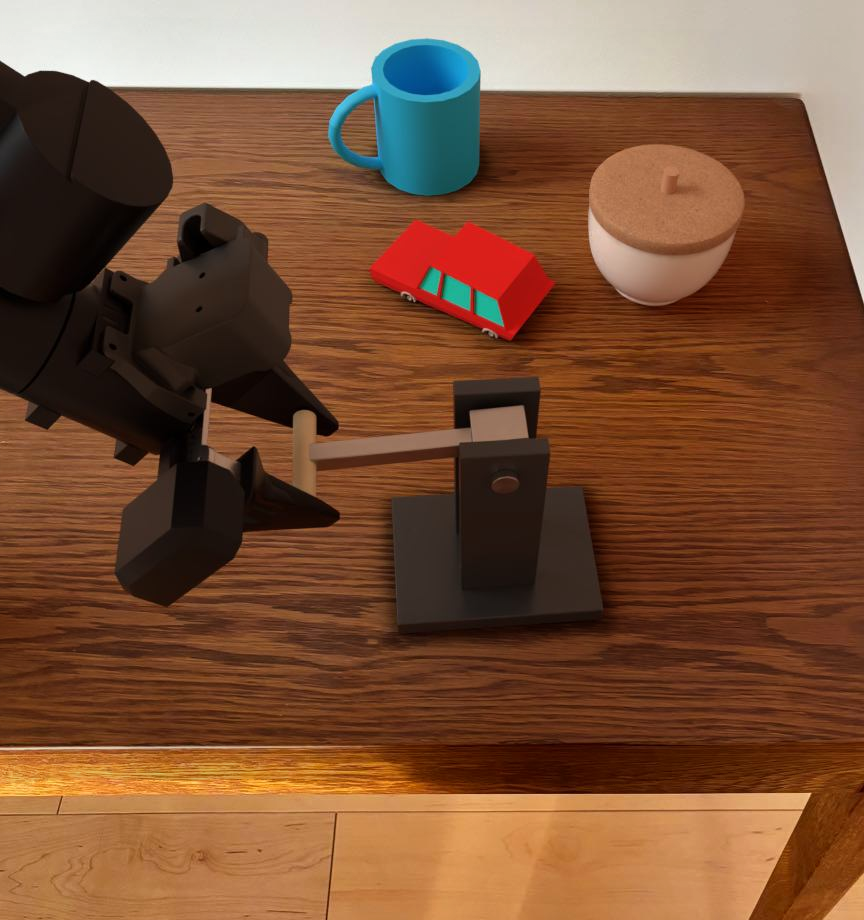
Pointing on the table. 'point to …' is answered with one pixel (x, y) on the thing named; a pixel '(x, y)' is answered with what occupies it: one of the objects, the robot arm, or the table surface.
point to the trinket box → (662, 221)
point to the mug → (420, 117)
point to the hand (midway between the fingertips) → (334, 474)
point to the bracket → (495, 532)
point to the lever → (395, 444)
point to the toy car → (465, 276)
